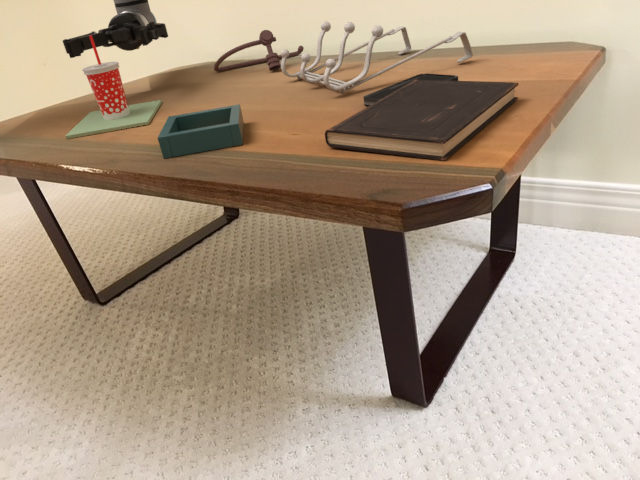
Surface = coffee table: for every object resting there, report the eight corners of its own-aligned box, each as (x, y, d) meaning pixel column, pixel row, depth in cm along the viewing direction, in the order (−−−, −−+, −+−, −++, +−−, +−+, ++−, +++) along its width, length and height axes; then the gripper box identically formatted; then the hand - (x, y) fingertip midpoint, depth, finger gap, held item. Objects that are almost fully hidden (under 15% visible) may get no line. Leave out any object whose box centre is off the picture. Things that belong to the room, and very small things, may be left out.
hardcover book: (517, 99, 74) (518, 82, 73) (445, 161, 58) (444, 140, 57) (412, 94, 83) (411, 79, 82) (325, 146, 68) (323, 129, 66)
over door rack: (281, 82, 106) (272, 30, 102) (407, 51, 115) (403, 2, 111) (329, 100, 88) (321, 38, 84) (473, 62, 97) (472, 4, 93)
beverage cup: (100, 116, 100) (73, 37, 94) (133, 109, 101) (109, 30, 95) (99, 123, 95) (70, 40, 88) (134, 116, 96) (108, 33, 90)
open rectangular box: (163, 158, 74) (157, 137, 72) (173, 135, 83) (168, 116, 82) (243, 144, 74) (238, 123, 73) (244, 123, 84) (239, 104, 82)
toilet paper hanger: (299, 47, 131) (309, 19, 117) (309, 80, 131) (320, 56, 117) (212, 65, 126) (212, 38, 113) (222, 99, 126) (223, 76, 113)
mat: (66, 139, 91) (65, 135, 91) (91, 114, 105) (89, 111, 105) (148, 124, 92) (147, 121, 91) (162, 102, 106) (161, 99, 105)
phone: (461, 75, 85) (399, 101, 77) (461, 82, 86) (400, 109, 77) (421, 73, 90) (359, 97, 82) (421, 79, 91) (360, 104, 83)
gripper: (190, 38, 121) (178, 53, 102) (78, 57, 120) (46, 76, 101) (181, 2, 117) (167, 11, 99) (66, 21, 116) (30, 34, 98)
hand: (106, 44), depth 100 cm, fingers open, 13 cm apart
